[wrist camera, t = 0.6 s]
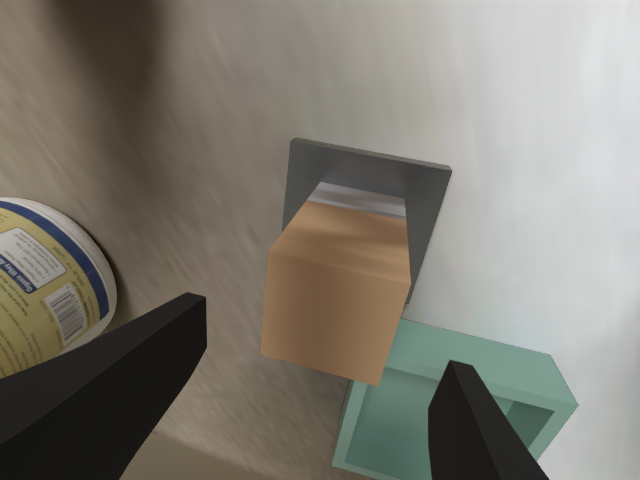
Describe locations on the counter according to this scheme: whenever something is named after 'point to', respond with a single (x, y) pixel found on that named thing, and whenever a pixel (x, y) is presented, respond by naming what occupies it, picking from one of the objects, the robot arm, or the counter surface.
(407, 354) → the bin
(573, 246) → the counter surface
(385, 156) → the base
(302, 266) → the strut
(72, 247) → the supplement tub
